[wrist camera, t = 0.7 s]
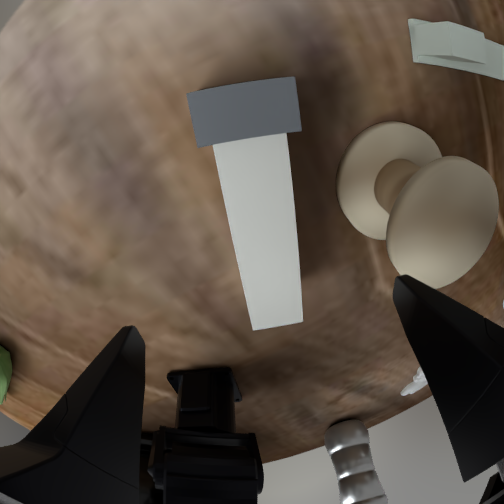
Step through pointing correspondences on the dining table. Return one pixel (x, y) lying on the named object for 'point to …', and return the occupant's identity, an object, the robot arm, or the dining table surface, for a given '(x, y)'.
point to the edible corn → (4, 372)
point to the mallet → (257, 188)
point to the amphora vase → (147, 474)
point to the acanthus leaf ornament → (415, 383)
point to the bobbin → (417, 201)
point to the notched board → (455, 48)
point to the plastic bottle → (354, 463)
